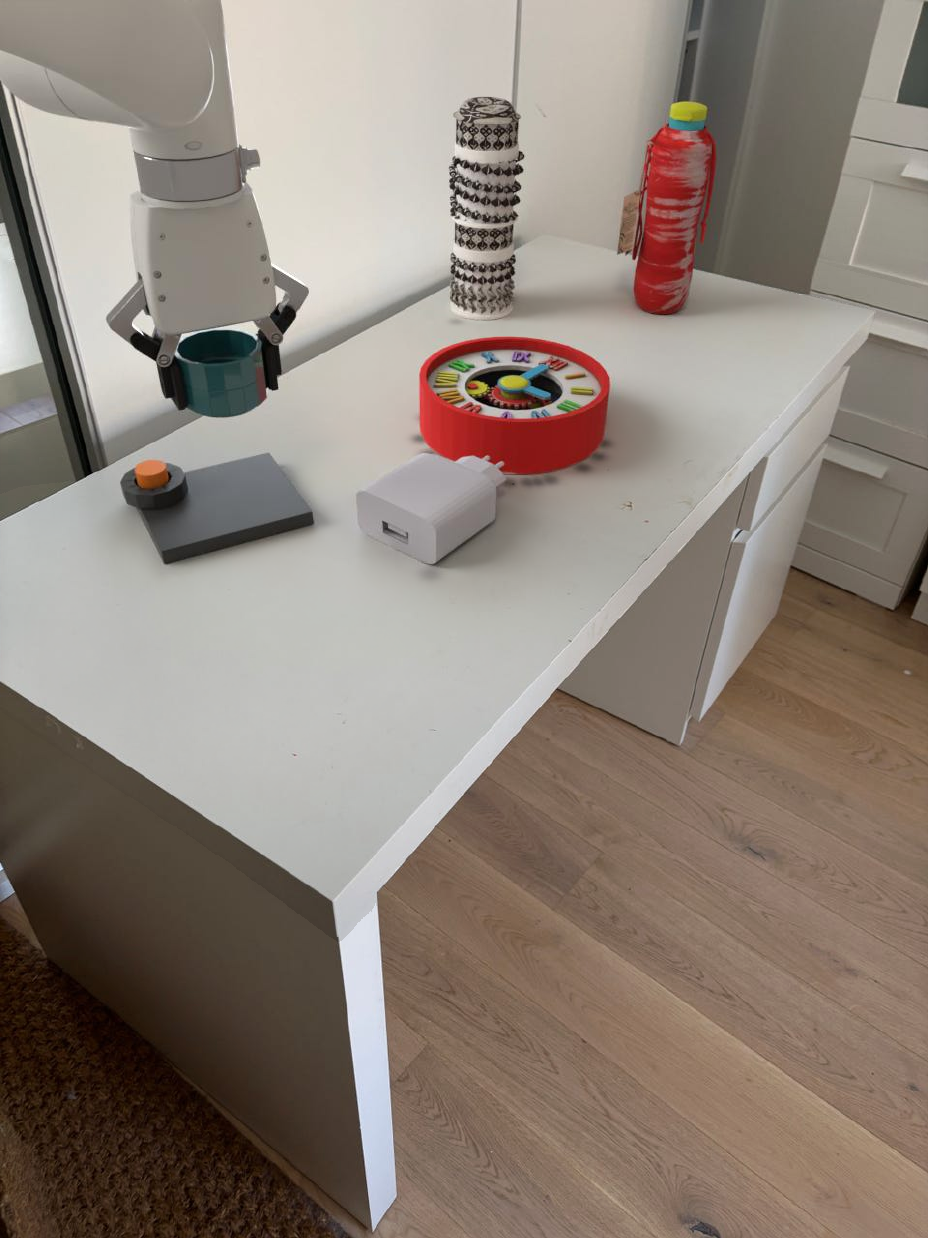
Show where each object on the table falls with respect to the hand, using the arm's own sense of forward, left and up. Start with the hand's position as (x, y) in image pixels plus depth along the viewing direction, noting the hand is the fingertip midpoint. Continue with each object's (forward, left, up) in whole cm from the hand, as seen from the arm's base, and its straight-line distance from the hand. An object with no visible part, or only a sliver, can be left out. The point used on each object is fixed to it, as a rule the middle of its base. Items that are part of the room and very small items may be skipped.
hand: (224, 392), depth 82 cm
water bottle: (+65, +25, -13) cm, 71 cm away
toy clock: (+31, +4, -13) cm, 34 cm away
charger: (+17, -8, -13) cm, 23 cm away
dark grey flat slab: (-2, +2, -13) cm, 13 cm away
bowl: (0, 0, -1) cm, 1 cm away
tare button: (-7, +5, -10) cm, 13 cm away
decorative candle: (+44, +34, -13) cm, 57 cm away
